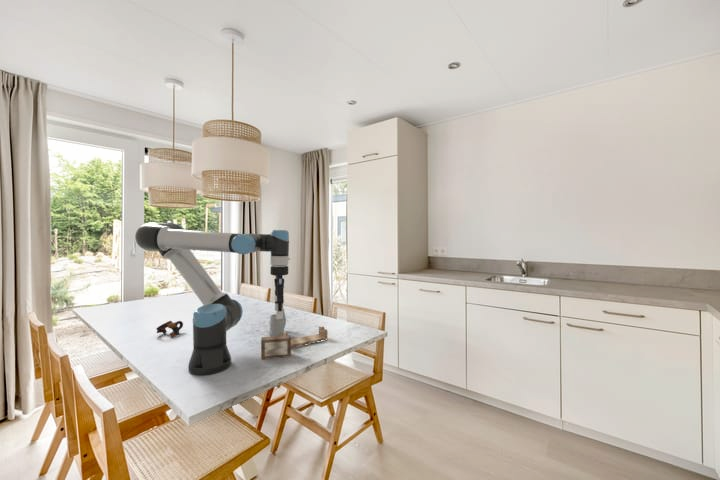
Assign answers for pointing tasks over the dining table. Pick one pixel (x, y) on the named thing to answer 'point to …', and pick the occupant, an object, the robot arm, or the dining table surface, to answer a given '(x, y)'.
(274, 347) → the frame
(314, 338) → the ledge
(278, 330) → the mug
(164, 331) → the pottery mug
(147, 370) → the dining table surface
